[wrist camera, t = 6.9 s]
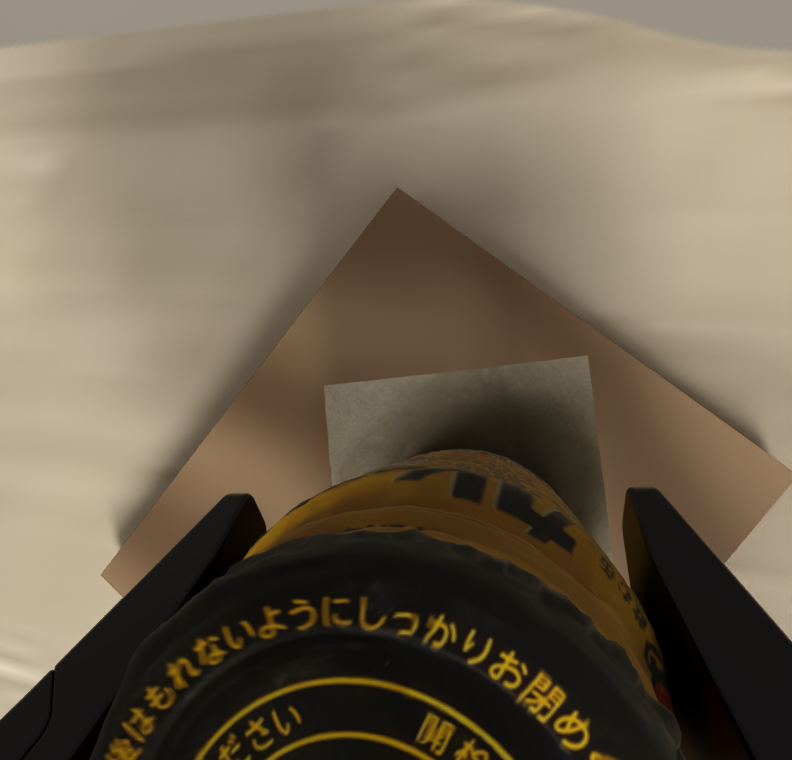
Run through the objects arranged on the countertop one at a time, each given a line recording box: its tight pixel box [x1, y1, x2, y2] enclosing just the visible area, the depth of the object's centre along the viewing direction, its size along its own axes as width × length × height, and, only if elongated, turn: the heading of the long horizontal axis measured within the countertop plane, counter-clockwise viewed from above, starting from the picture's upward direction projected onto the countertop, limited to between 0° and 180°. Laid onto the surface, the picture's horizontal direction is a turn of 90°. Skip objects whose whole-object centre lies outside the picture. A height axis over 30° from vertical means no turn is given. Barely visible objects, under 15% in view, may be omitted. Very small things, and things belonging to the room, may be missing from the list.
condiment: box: [89, 356, 686, 760], centre depth 10 cm, size 7×8×12 cm
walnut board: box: [101, 188, 792, 597], centre depth 21 cm, size 18×16×2 cm
